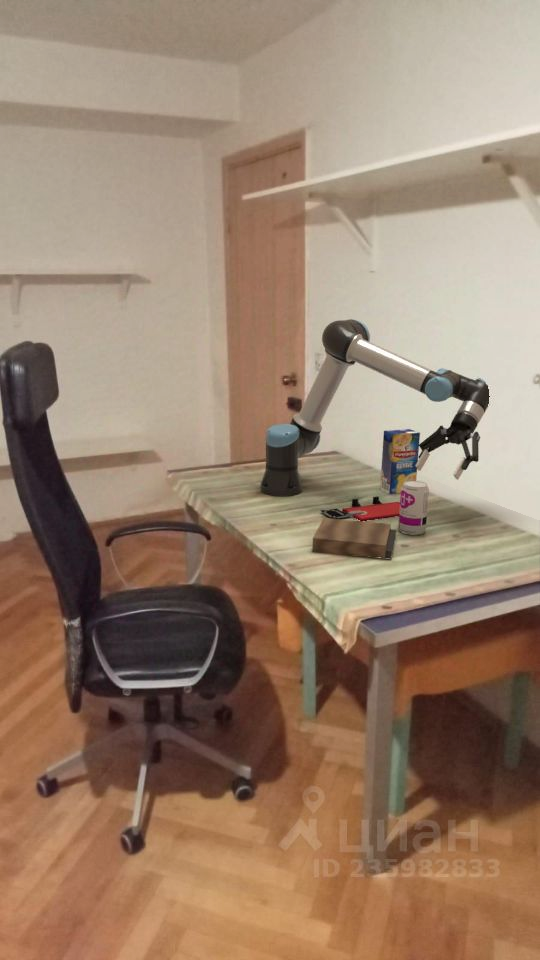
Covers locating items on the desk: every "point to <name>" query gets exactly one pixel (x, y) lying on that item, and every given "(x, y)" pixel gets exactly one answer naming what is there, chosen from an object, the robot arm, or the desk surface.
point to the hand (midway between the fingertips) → (436, 472)
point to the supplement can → (413, 507)
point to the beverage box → (399, 459)
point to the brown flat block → (354, 538)
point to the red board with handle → (366, 510)
